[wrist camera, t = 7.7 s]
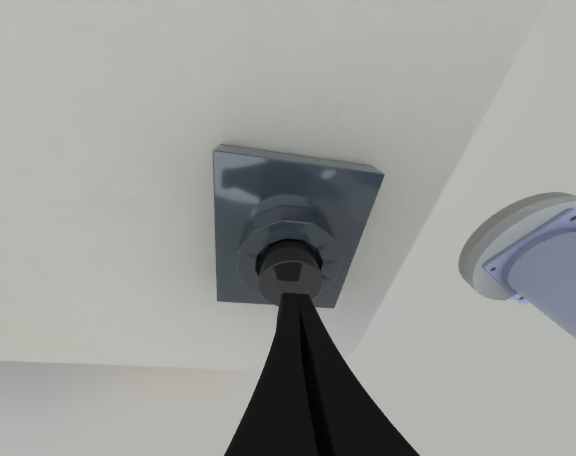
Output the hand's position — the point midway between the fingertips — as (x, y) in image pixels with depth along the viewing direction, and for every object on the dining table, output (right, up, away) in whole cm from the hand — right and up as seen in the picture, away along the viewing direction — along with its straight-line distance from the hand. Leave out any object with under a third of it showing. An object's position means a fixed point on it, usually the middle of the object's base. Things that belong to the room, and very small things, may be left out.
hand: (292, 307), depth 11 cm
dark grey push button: (0, +2, +3) cm, 4 cm away
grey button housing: (0, +4, +6) cm, 7 cm away
